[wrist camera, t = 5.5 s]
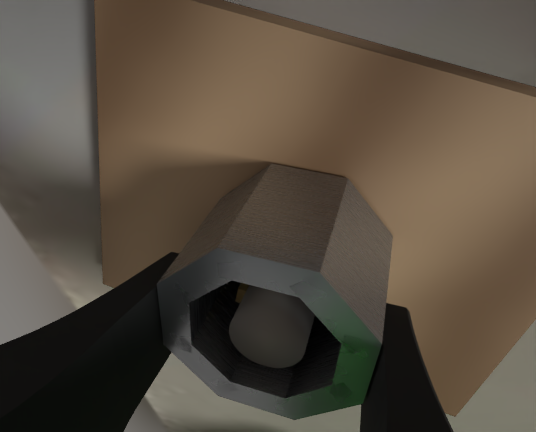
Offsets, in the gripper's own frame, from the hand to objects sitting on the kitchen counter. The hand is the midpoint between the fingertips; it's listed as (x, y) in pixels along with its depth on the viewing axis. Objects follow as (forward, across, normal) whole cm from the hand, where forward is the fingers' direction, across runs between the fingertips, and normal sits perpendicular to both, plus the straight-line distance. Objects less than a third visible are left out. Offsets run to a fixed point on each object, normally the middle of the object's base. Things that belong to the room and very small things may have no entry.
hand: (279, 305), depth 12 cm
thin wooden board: (+3, 0, 0) cm, 3 cm away
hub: (+2, 0, -1) cm, 2 cm away
